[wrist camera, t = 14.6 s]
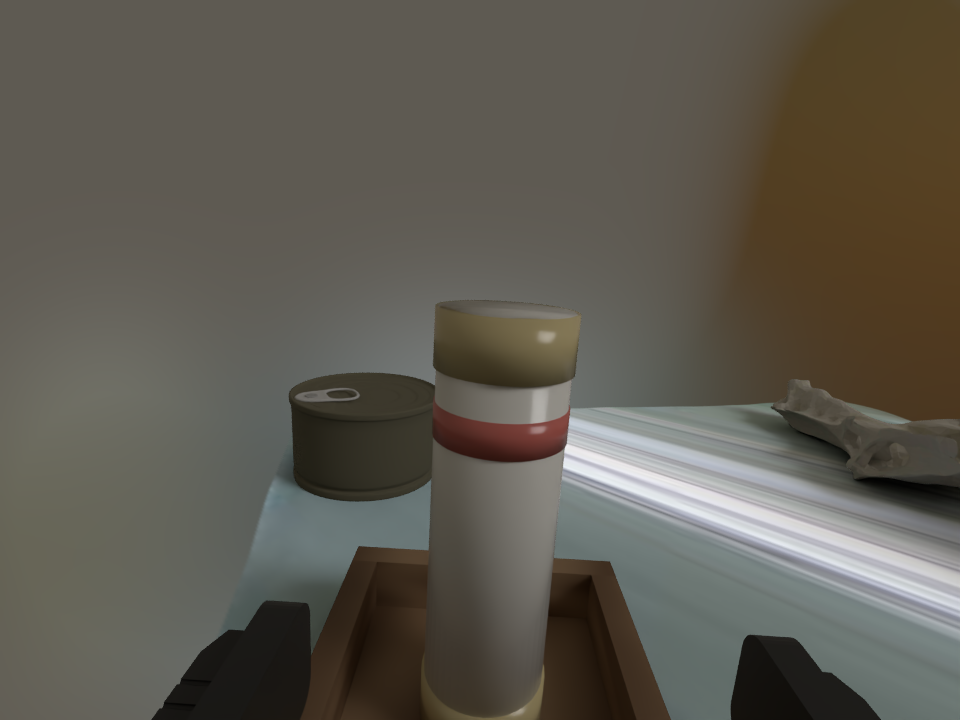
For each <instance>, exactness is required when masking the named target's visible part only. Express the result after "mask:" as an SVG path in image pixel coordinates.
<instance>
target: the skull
mask: <svg viewBox="0 0 960 720" xmlns="http://www.w3.org/2000/svg"><path fill="white" fill-rule="evenodd" d="M770 408H771V409H773V410H775V411H777V412H778V413H779V414H781V415H782V416H783V417H784V419H785V420H786V421H787V422H788V423H789V425H791V426H792V427H793V428H795V429H796V430H798V431H800V432H803V433H805V434H808V435H812V436H815V437H818V438H821V439H823V440H825V441H827V442H829V443H831V444H833V445H835V446H837V447H840V448H841V449H843V450H845V451H846V452H847V453H848V454H849V455H850V457H851V459H848V461H847V464H846V466H847V468H848V469H850V470H851V471H852V472H853V478H854V479H857V480H858V479H863V478H868V477H885V478H892V479H897V480H902V481H906V482H913V483H919V484H940V485H946V486H953V487H960V427H959V426H958V425H960V419H940V420H926V421H915V422H910V423H905V424H889V423H885V422H882V421H879V420H876V419H873V418H871V417H868V416H866V415H864V414H862V413H860V412H858V411H857V410H855V409H853V408H852V407H850V406H848V405H847V404H846V403H845V402H844V401H842V400H839V399H836V398H832V397H831V396H830V395H829V393H828V392H826V391H825V390H822V389H815V388H812V387H811V386H810V382H809V380H796V379H793V380H790V381H789V382H788V395H787V397H786V398H784V399H781V400H779V401H778V402H777V403H774V404H773V406H771V407H770Z"/></svg>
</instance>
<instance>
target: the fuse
mask: <svg viewBox="0 0 960 720" xmlns="http://www.w3.org/2000/svg"><path fill="white" fill-rule="evenodd" d="M580 322H581V313H579V312H576V311H574V310H570V309H565V308H561V307H555V306H549V305H541V304H533V303H522V302H507V301H489V300H462V301H461V300H460V301H448V302H441V303H438V304H436V306H435V329H434V354H433V366H434V368H435V369H436V380H435V396H434V398H433V418H432V435H433V455H432V480H431V505H430V530H429V555H428V580H427V605H426V630H425V652H424V655H423V659H422V666H421V691H420V718H421V720H540V715H541V705H542V695H543V685H544V676H545V674H544V665H543V659H544V649H545V639H546V629H547V619H548V609H549V600H550V590H551V580H552V570H553V560H554V550H555V540H556V530H557V520H558V510H559V500H560V490H561V480H562V470H563V460H564V450H565V446H566V444H567V435H568V426H569V416H570V405H569V400H570V391H571V381H572V379H573V378H574V377H575V371H576V362H577V352H578V342H579V332H580Z"/></svg>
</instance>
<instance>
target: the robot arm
mask: <svg viewBox="0 0 960 720" xmlns="http://www.w3.org/2000/svg"><path fill="white" fill-rule="evenodd" d="M310 679H311V646H310V610H309V606H308V604H307V603H297V602H283V601H265V602H264V603H263V604H262V605H261V606H260V608H259V609H258V611H257V612H256V614H255V615H254V617H253V618H252V620H251V621H250V623H249V624H248V626H247V627H246V629H245V631H241V630H228V631H227V632H225V633H224V634H223V635H221V636H220V637H219V638H218V639H216V640H215V641H214V642H212V643H211V644H210V645H209V646H207V647H206V648H205V649H204V650H202V651H201V652H200V654H199V655H198V656H197V658H196V659H195V660H194V662H193V663H192V664H191V666H190V667H189V669H188V670H187V671H186V673H185V674H184V676H183V677H182V678H181V682H180V684H178V685H176V687H175V688H174V689H173V691H172V692H171V694H170V695H169V696H168V698H167V699H166V700H165V702H164V706H163V708H162V709H159V710H158V711H157V713H156V714H155V716H154V717H153V718H152V720H300V718H301V716H302V713H303V711H304V708H305V704H306V701H307V697H308V692H309V686H310ZM731 720H881V719H880V718H879V717H878V715H877V714H876V713H875V712H874V711H873V709H872V708H871V707H870V706H869V704H868V703H867V702H866V701H865V700H864V699H863V698H862V697H861V696H859V695H858V694H857V693H856V692H854V691H853V690H852V689H851V688H850V687H848V686H847V685H846V684H845V683H843V682H842V681H841V680H840V679H838V678H837V677H836V676H835V675H833V674H832V673H827V672H822V671H821V669H820V668H819V667H818V666H817V664H816V663H815V662H814V660H813V659H812V658H811V656H810V655H809V654H808V653H807V651H806V650H805V649H804V647H803V646H802V645H801V644H800V643H799V642H798V641H797V640H796V639H794V638H790V637H776V636H762V635H748V636H747V637H746V638H745V639H744V642H743V645H742V650H741V655H740V660H739V665H738V670H737V675H736V680H735V685H734V690H733V695H732V700H731Z"/></svg>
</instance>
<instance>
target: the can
mask: <svg viewBox="0 0 960 720" xmlns="http://www.w3.org/2000/svg"><path fill="white" fill-rule="evenodd" d="M434 396H435V385H433V384H431V383H429V382H426V381H424V380H421V379H417V378H413V377H409V376H403V375H396V374H385V373H346V374H336V375H329V376H323V377H318V378H314V379H311V380H308V381H305V382H302V383H300V384H298V385H296V386H295V387H293V388H292V389H291V391H290V393H289V402H290V404H291V409H292V432H293V458H294V478H295V481H296V482H297V484H298V485H299V486H300V487H301V488H303V489H304V490H306V491H308V492H310V493H312V494H314V495H317V496H320V497H324V498H328V499H333V500H340V501H375V500H383V499H389V498H394V497H398V496H401V495H404V494H407V493H410V492H412V491H415V490H417V489H419V488H420V487H422V486H424V485H425V484H426V483H427V482H428V481H430V479H431V478H432V455H433V435H432V418H433V398H434Z"/></svg>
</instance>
